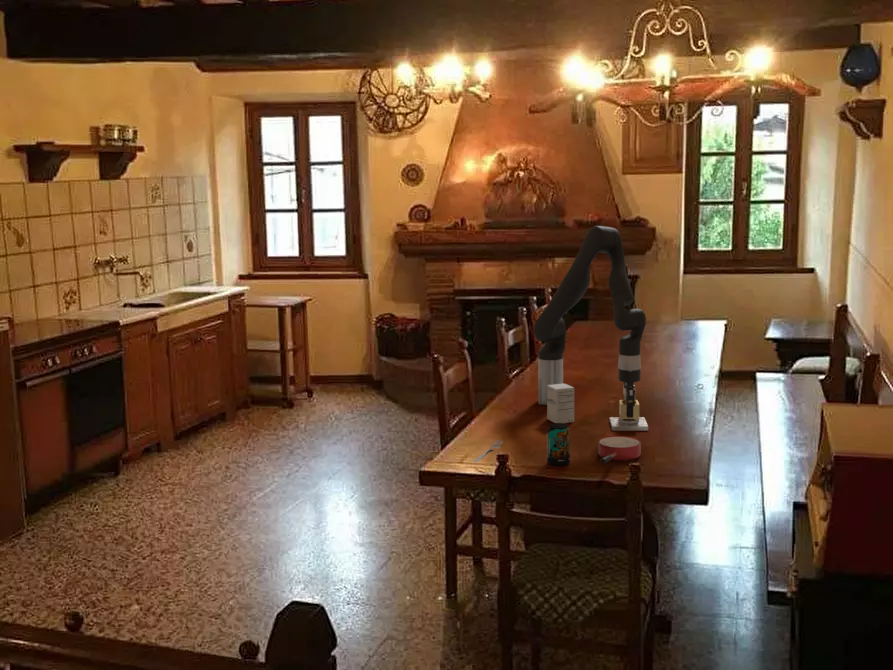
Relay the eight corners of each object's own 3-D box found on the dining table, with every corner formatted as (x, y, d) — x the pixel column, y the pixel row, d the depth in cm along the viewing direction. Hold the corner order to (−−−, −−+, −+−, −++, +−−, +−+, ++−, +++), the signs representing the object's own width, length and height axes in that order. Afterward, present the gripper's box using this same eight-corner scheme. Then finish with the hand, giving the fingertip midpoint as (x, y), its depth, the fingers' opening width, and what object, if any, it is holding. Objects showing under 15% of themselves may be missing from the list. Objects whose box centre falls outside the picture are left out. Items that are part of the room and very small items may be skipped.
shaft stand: (612, 430, 347) (612, 410, 346) (609, 421, 359) (609, 402, 358) (648, 430, 346) (648, 410, 345) (644, 421, 358) (644, 401, 357)
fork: (466, 465, 314) (465, 459, 314) (495, 444, 336) (495, 439, 335) (475, 466, 313) (475, 460, 312) (504, 445, 334) (504, 440, 334)
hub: (620, 418, 349) (621, 404, 348) (619, 414, 355) (619, 400, 354) (639, 418, 349) (639, 404, 348) (637, 414, 355) (637, 400, 354)
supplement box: (546, 419, 363) (546, 384, 361) (565, 417, 366) (565, 382, 364) (556, 424, 357) (555, 389, 354) (575, 422, 359) (575, 387, 357)
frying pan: (634, 481, 294) (634, 460, 293) (588, 479, 298) (588, 457, 296) (641, 450, 325) (642, 430, 324) (600, 448, 328) (600, 428, 327)
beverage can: (566, 467, 308) (566, 429, 306) (544, 465, 310) (544, 427, 308) (572, 461, 314) (572, 423, 312) (550, 459, 317) (550, 421, 315)
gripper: (616, 362, 356) (616, 409, 359) (620, 371, 342) (619, 420, 345) (638, 362, 356) (637, 409, 359) (642, 371, 341) (642, 420, 344)
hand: (629, 414), depth 352 cm, fingers closed on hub, 6 cm apart
